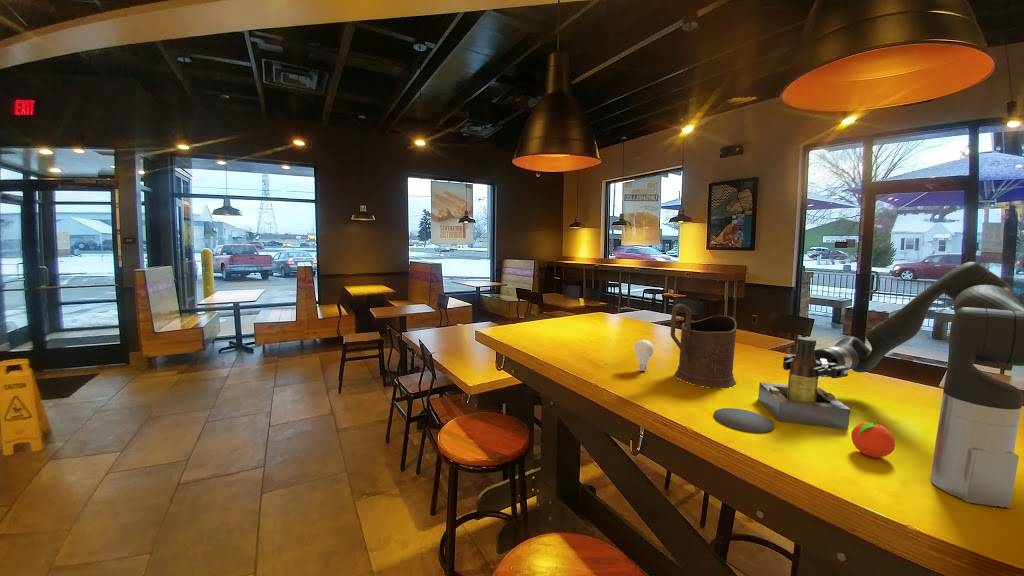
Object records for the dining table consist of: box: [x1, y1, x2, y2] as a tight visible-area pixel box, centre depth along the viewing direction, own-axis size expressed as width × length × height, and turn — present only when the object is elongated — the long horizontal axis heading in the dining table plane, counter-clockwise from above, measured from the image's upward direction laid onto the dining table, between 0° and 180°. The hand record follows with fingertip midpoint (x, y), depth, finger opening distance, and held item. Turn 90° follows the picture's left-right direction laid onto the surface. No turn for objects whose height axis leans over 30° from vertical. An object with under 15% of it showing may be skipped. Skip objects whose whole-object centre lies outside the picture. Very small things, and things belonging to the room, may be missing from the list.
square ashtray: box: [757, 381, 851, 430], centre depth 108 cm, size 15×15×6 cm
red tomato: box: [850, 421, 896, 458], centre depth 86 cm, size 8×7×7 cm
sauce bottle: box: [787, 336, 819, 402], centre depth 107 cm, size 6×6×20 cm
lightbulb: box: [633, 339, 655, 372], centre depth 140 cm, size 6×6×11 cm
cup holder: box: [670, 303, 738, 389], centre depth 132 cm, size 18×24×25 cm
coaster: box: [713, 407, 775, 434], centre depth 102 cm, size 13×13×1 cm
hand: (799, 369), depth 106 cm, fingers closed on sauce bottle, 6 cm apart
